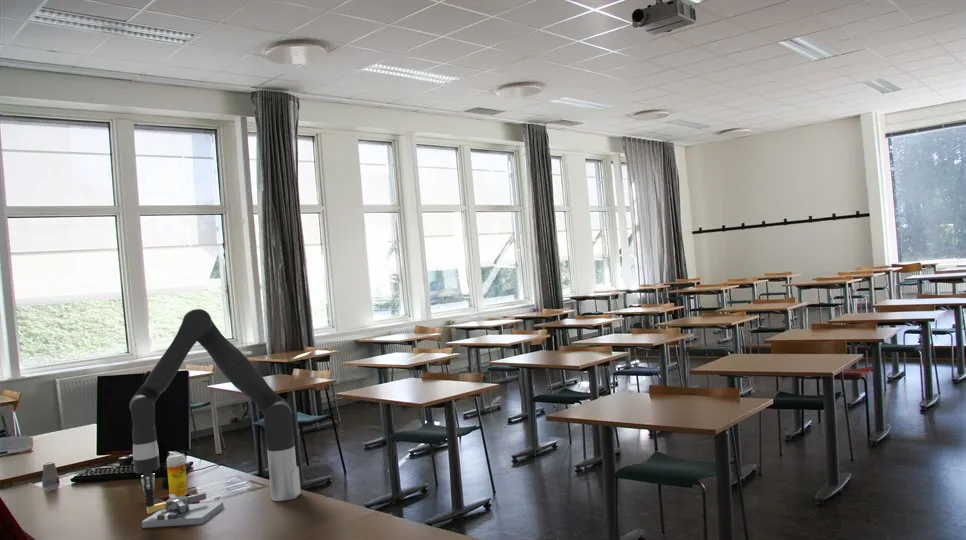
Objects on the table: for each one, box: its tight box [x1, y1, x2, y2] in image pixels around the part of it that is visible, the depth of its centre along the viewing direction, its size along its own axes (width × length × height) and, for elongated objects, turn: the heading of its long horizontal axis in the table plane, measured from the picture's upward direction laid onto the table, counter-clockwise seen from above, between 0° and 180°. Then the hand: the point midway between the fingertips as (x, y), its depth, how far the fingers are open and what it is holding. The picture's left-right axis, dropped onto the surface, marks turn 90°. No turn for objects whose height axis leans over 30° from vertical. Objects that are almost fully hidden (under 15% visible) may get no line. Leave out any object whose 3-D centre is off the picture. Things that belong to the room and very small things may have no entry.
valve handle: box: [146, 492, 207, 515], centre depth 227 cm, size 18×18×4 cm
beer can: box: [166, 453, 188, 497], centre depth 252 cm, size 6×6×15 cm
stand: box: [141, 501, 225, 529], centre depth 227 cm, size 20×15×3 cm
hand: (150, 508), depth 224 cm, fingers closed
